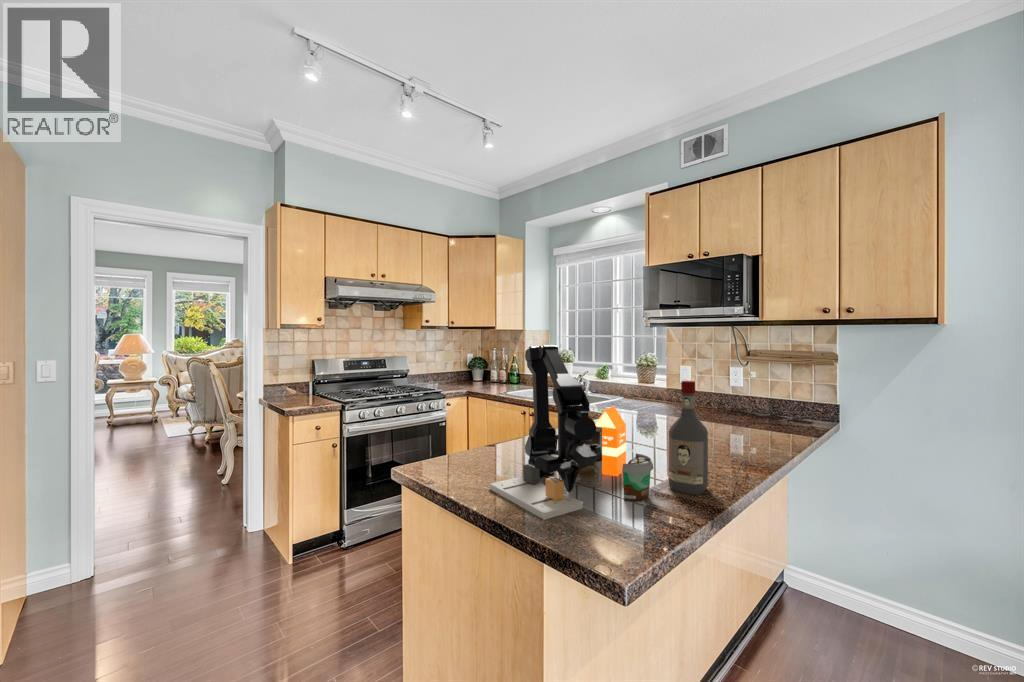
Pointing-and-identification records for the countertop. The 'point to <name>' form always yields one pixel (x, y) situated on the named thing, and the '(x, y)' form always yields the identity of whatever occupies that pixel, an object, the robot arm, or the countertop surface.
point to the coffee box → (592, 473)
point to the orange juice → (612, 441)
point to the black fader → (531, 474)
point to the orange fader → (554, 488)
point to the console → (535, 498)
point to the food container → (637, 478)
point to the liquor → (688, 447)
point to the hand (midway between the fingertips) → (569, 491)
